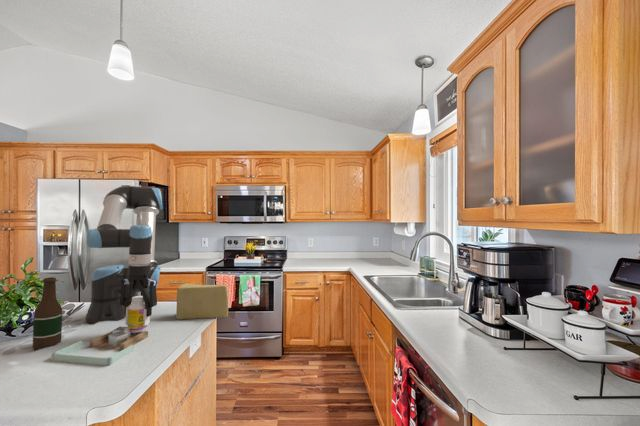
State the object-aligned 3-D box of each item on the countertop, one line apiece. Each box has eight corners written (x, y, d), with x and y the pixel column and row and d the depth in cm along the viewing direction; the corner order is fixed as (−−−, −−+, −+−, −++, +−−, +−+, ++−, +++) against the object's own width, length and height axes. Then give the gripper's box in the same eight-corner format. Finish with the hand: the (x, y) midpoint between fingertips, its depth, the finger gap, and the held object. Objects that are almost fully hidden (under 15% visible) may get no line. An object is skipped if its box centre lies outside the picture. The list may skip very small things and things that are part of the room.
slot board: (116, 336, 117) (116, 329, 117) (147, 339, 115) (148, 331, 115) (89, 350, 105) (89, 341, 105) (123, 353, 103) (124, 344, 103)
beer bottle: (66, 344, 109) (69, 277, 110) (40, 353, 102) (43, 281, 102) (52, 340, 112) (55, 275, 112) (26, 349, 104) (29, 279, 105)
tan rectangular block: (230, 313, 148) (231, 282, 148) (225, 320, 138) (226, 287, 138) (183, 313, 147) (184, 282, 147) (175, 320, 137) (176, 286, 137)
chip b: (119, 342, 110) (119, 331, 110) (127, 344, 108) (127, 333, 108) (108, 346, 106) (108, 335, 106) (116, 348, 104) (116, 337, 104)
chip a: (118, 337, 114) (119, 326, 114) (129, 337, 114) (130, 326, 114) (112, 341, 110) (112, 330, 110) (123, 341, 110) (124, 330, 110)
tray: (80, 349, 105) (80, 340, 105) (133, 354, 103) (133, 345, 103) (51, 363, 95) (51, 353, 95) (109, 368, 93) (109, 358, 93)
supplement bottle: (138, 334, 115) (139, 300, 115) (123, 332, 116) (124, 298, 116) (151, 328, 121) (152, 295, 121) (136, 326, 122) (138, 294, 123)
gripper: (109, 265, 116) (106, 325, 116) (156, 267, 114) (154, 329, 114) (124, 262, 124) (121, 319, 123) (169, 264, 122) (167, 322, 121)
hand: (137, 323), depth 119 cm, fingers closed on supplement bottle, 7 cm apart
